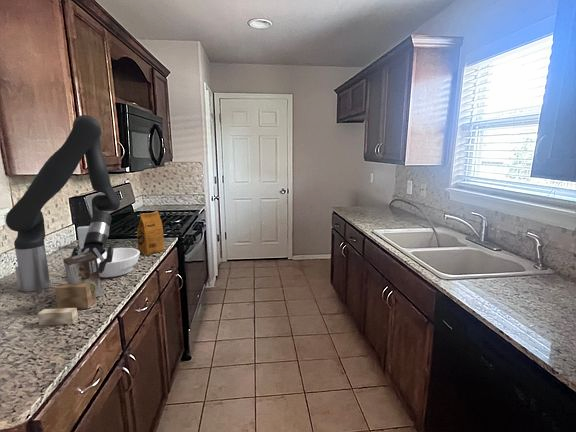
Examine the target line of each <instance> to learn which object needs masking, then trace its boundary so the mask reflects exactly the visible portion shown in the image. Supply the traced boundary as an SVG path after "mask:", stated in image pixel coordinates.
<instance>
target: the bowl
mask: <svg viewBox="0 0 576 432" xmlns="http://www.w3.org/2000/svg"><path fill="white" fill-rule="evenodd" d="M140 254H141V253H140V251H139V250H138V248H133V247H118V248H117V247H115V248H113V257H112V262H111V263H109V262H108V263H106V265H105V269H104V271H103V272H102V273H99V275H100V278H113V277H119V276H123V275H126V274H129V273H130V272H132V271H133V269H134V267H135V265H136V264H137V263H138V262H139V258H140ZM102 256H103V258H104V259H106V256H107V252H106V251H105V253H103V254H102ZM100 262H101V260H100V259H99V258H98V259H97V263H98V268H99V264H100Z"/></svg>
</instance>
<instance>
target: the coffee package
mask: <svg viewBox="0 0 576 432" xmlns="http://www.w3.org/2000/svg"><path fill="white" fill-rule="evenodd" d="M139 217H140V218H139V223H138V226H137V229H136V237H137V250H139V251H140V254H142V255H144V256H148V255H152V254H157V253H160V252H163V251H164V250H165V239H164V227H163V221H162V218H161V216H160V214H159V211H158V210H155V211H153V212H151V213H149V212H147V213H139Z"/></svg>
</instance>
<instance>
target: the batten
mask: <svg viewBox="0 0 576 432" xmlns="http://www.w3.org/2000/svg"><path fill="white" fill-rule="evenodd" d="M37 318H38V323H39V326H52V325H53V326H54V325H55V326H56V325H57V324H58V325H74V324H75V323H76V322H77V321H78V320H79V315H78V309H77V308H59V309H58V308H44V309H42V310H41V311H39V312H38V313H37ZM76 320H77V321H76ZM75 321H76V322H75Z"/></svg>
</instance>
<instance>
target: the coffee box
mask: <svg viewBox="0 0 576 432" xmlns="http://www.w3.org/2000/svg"><path fill="white" fill-rule="evenodd" d="M62 260H63V265H64V270H65V274H66V279H67V284H84V283H90V287H91V294H95V298H97V297H100V296H102V295H104V293H103V286H102V282H101V277H100V275H99V269H98V263H97V257H96V256H94V254H92V253H91V252H87V253H83V254H82V253H80V255H76V256H72V257H71V256H70V257H66V258H63V259H62Z"/></svg>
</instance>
